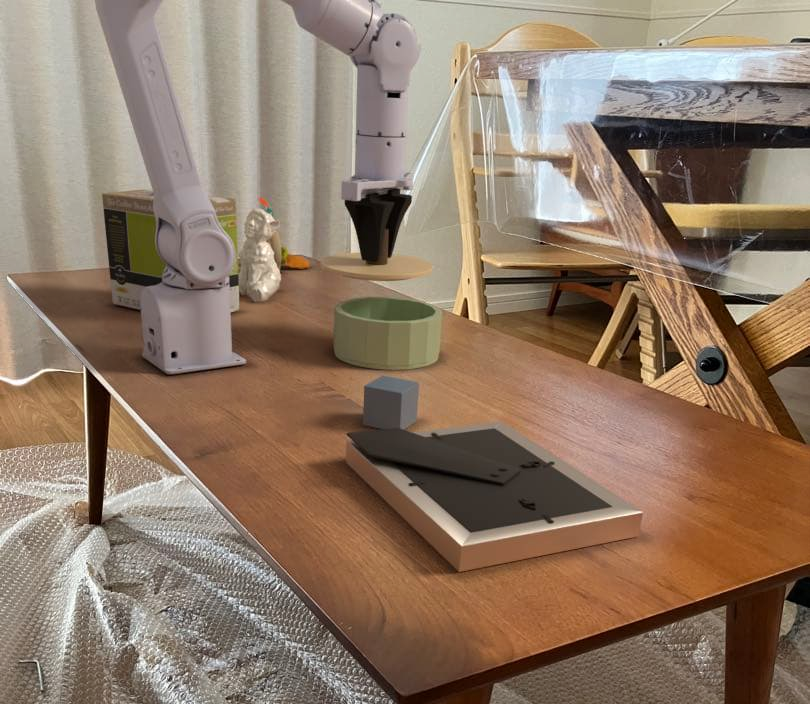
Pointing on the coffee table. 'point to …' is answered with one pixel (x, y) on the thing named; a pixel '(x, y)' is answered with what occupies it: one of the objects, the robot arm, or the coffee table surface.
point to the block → (390, 403)
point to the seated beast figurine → (259, 257)
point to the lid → (377, 265)
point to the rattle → (281, 252)
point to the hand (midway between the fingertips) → (376, 258)
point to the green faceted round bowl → (387, 332)
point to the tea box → (149, 244)
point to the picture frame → (488, 493)
